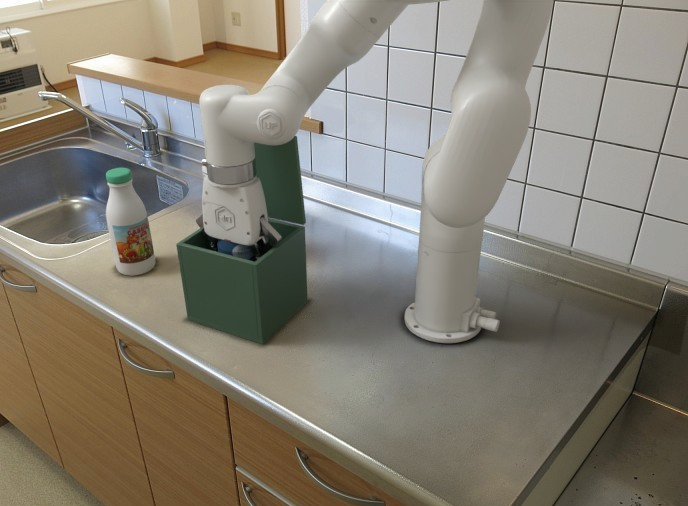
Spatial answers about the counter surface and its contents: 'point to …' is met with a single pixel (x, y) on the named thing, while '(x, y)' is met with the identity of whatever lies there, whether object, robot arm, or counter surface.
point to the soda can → (235, 249)
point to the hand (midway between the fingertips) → (241, 270)
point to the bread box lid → (281, 180)
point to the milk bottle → (128, 225)
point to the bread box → (245, 284)
